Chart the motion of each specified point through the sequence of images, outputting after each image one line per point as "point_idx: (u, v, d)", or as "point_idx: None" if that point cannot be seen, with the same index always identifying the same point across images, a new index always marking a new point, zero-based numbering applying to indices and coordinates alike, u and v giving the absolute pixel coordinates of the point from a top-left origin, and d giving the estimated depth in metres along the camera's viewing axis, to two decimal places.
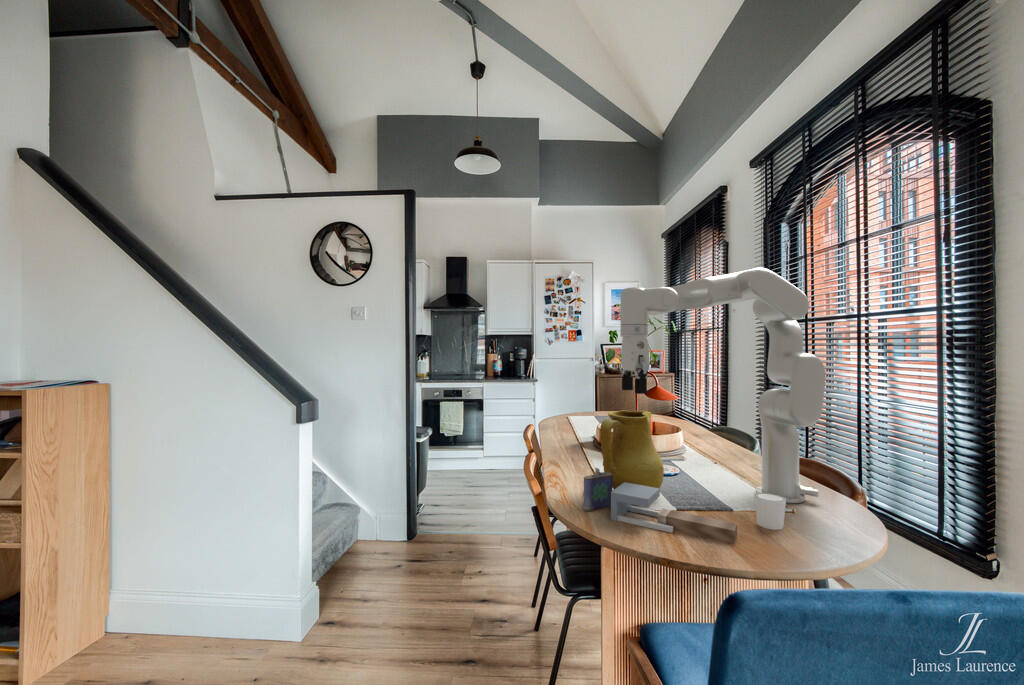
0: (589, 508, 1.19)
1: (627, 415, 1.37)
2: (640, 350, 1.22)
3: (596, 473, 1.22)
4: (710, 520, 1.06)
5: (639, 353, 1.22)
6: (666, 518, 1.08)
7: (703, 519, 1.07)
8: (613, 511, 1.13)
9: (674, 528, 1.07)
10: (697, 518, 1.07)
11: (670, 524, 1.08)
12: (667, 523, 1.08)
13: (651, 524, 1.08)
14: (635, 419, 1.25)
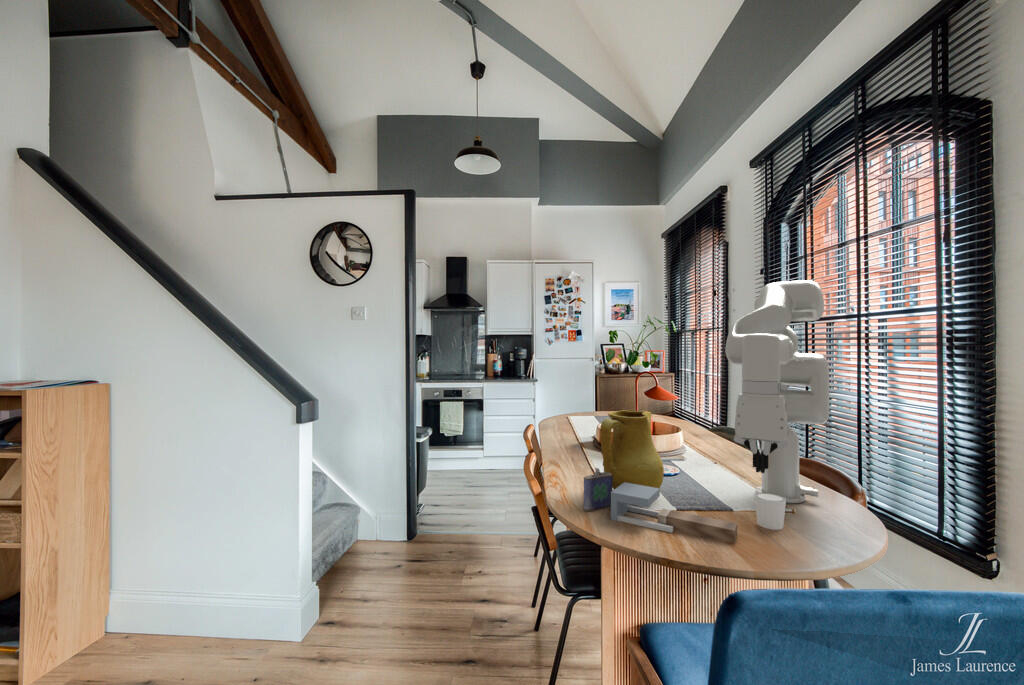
0: (589, 508, 1.19)
1: (627, 415, 1.37)
2: (786, 414, 0.97)
3: (596, 473, 1.22)
4: (710, 520, 1.06)
5: (786, 418, 0.97)
6: (666, 518, 1.08)
7: (703, 519, 1.07)
8: (613, 511, 1.13)
9: (674, 528, 1.07)
10: (697, 518, 1.07)
11: (670, 524, 1.08)
12: (667, 523, 1.08)
13: (651, 524, 1.08)
14: (635, 419, 1.25)
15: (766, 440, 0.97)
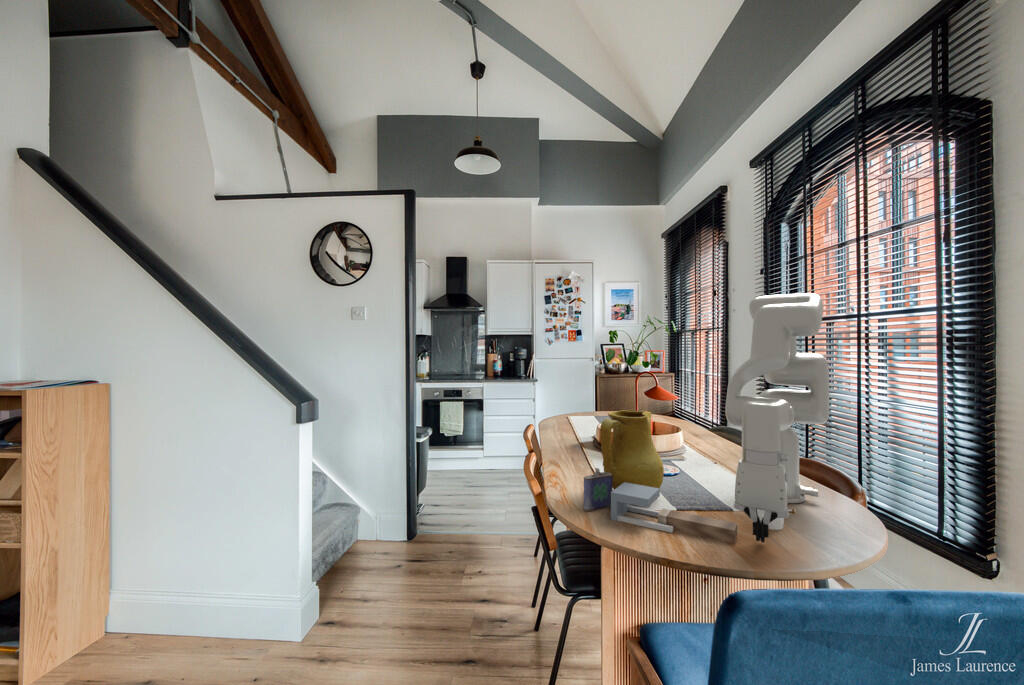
0: (589, 508, 1.19)
1: (627, 415, 1.37)
2: (786, 484, 0.97)
3: (596, 473, 1.22)
4: (710, 520, 1.06)
5: (786, 488, 0.97)
6: (666, 518, 1.08)
7: (703, 519, 1.07)
8: (613, 511, 1.13)
9: (674, 528, 1.07)
10: (697, 518, 1.07)
11: (670, 524, 1.08)
12: (667, 523, 1.08)
13: (651, 524, 1.08)
14: (635, 419, 1.25)
15: (766, 510, 0.97)
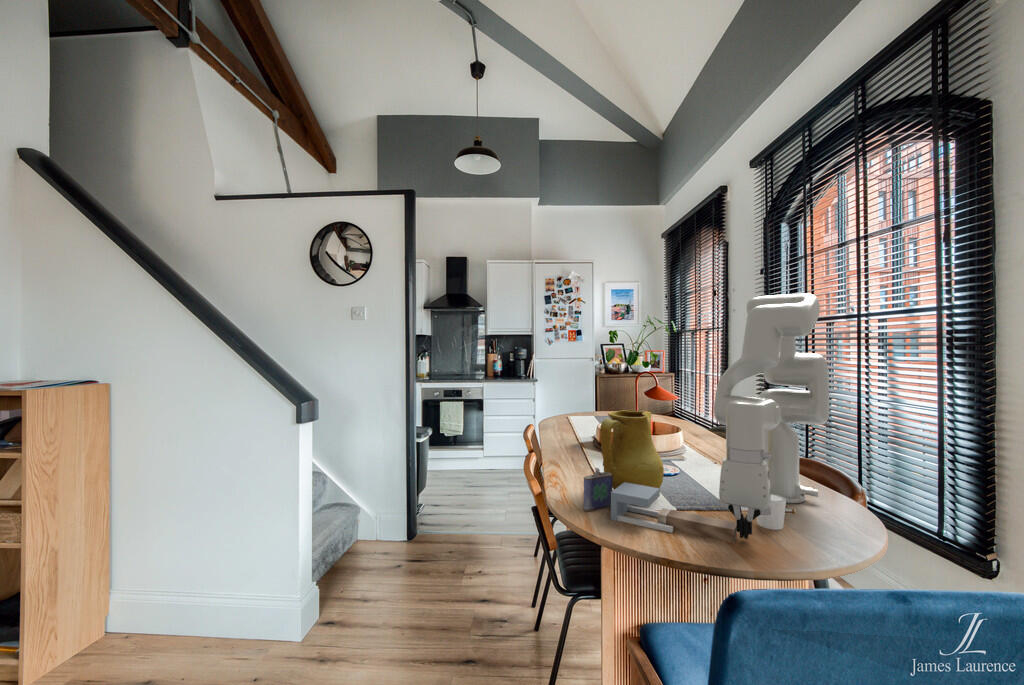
0: (589, 508, 1.19)
1: (627, 415, 1.37)
2: (769, 482, 0.99)
3: (596, 473, 1.22)
4: (710, 519, 1.06)
5: (769, 486, 0.98)
6: (666, 518, 1.08)
7: (703, 518, 1.07)
8: (613, 511, 1.13)
9: (674, 528, 1.07)
10: (697, 518, 1.07)
11: (670, 523, 1.08)
12: (667, 523, 1.08)
13: (651, 524, 1.08)
14: (635, 419, 1.25)
15: (749, 507, 0.99)
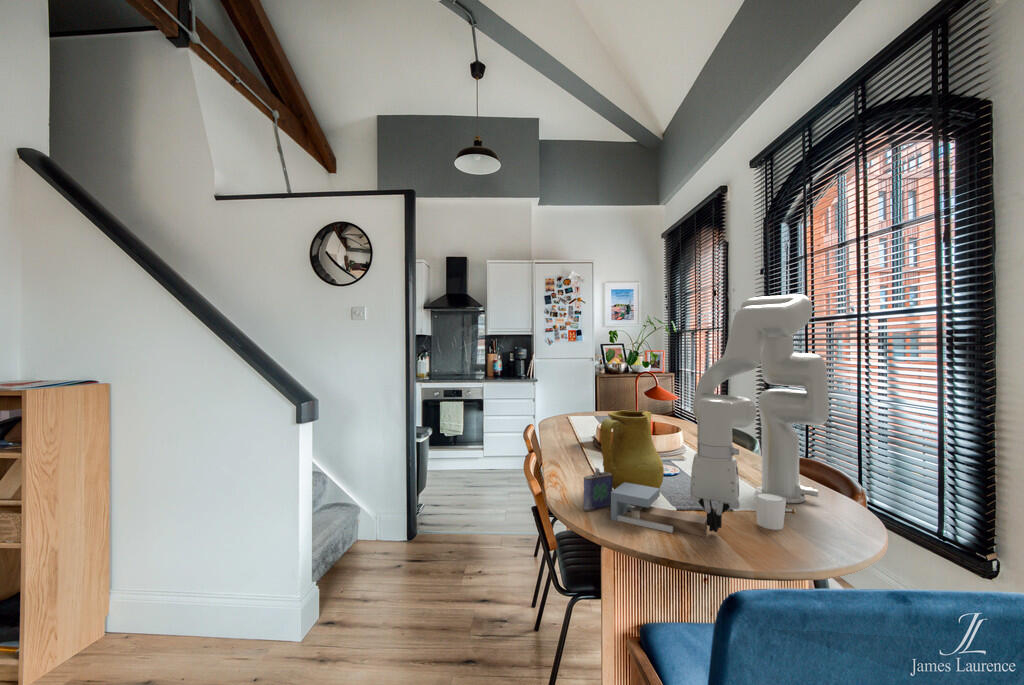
0: (589, 508, 1.19)
1: (627, 415, 1.37)
2: (737, 477, 1.02)
3: (596, 473, 1.22)
4: (682, 514, 1.09)
5: (737, 481, 1.02)
6: (640, 513, 1.11)
7: (675, 513, 1.10)
8: (613, 511, 1.13)
9: None
10: (669, 513, 1.10)
11: (643, 519, 1.11)
12: (641, 518, 1.11)
13: (651, 524, 1.08)
14: (635, 419, 1.25)
15: (718, 501, 1.03)
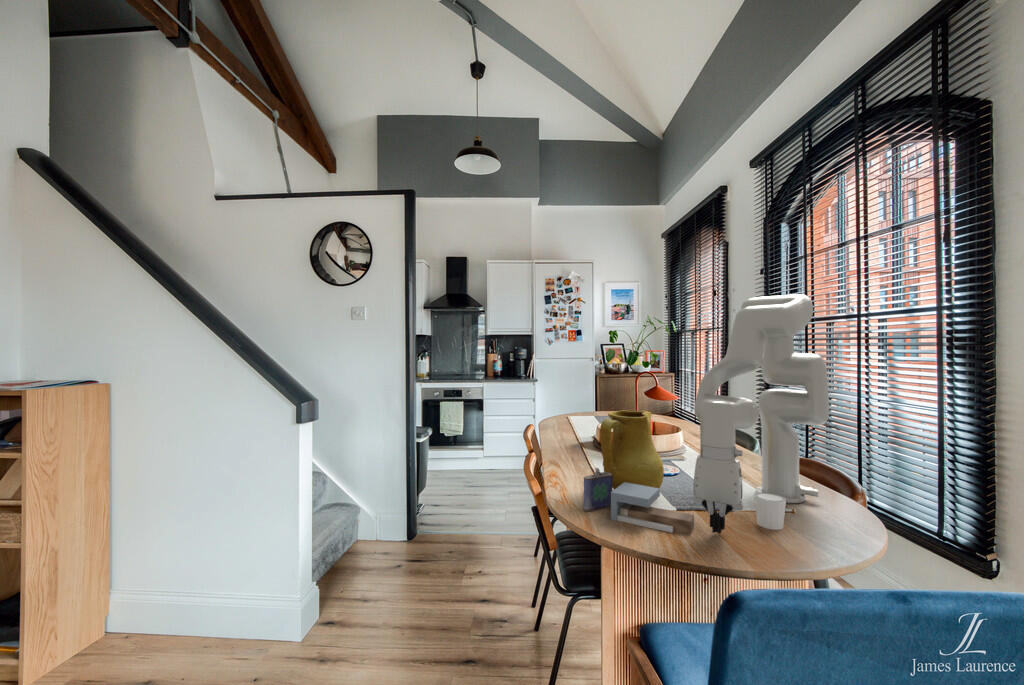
0: (589, 508, 1.19)
1: (627, 415, 1.37)
2: (740, 479, 1.02)
3: (596, 473, 1.22)
4: (669, 512, 1.11)
5: (740, 482, 1.01)
6: (628, 511, 1.13)
7: (662, 511, 1.11)
8: (613, 511, 1.13)
9: None
10: (657, 511, 1.12)
11: None
12: (629, 516, 1.13)
13: (651, 524, 1.08)
14: (635, 419, 1.25)
15: (721, 503, 1.02)
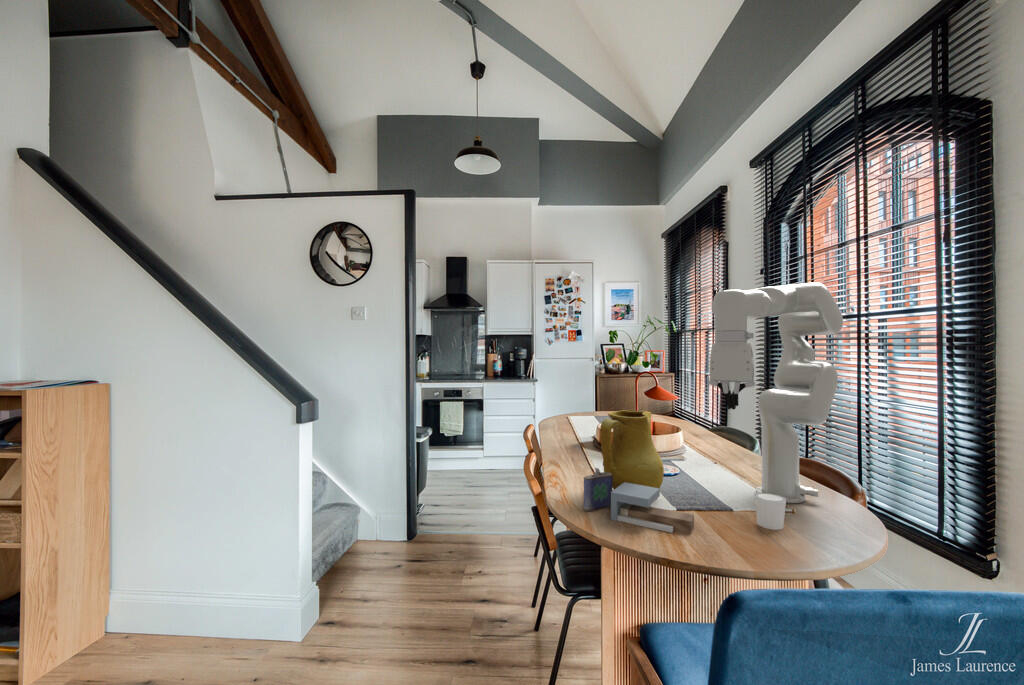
0: (589, 508, 1.19)
1: (627, 415, 1.37)
2: (752, 358, 1.13)
3: (596, 473, 1.22)
4: (669, 512, 1.11)
5: (752, 361, 1.13)
6: (628, 511, 1.13)
7: (662, 511, 1.11)
8: (613, 511, 1.13)
9: None
10: (657, 511, 1.12)
11: None
12: (629, 516, 1.13)
13: (651, 524, 1.08)
14: (635, 419, 1.25)
15: (735, 381, 1.14)
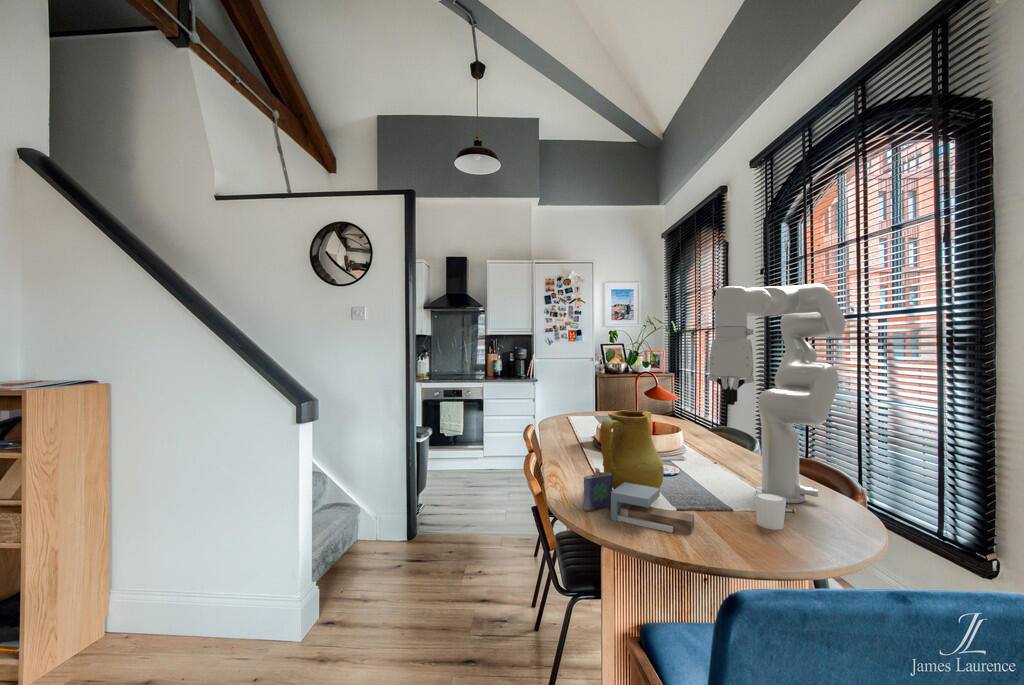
0: (589, 508, 1.19)
1: (627, 415, 1.37)
2: (752, 354, 1.14)
3: (596, 473, 1.22)
4: (669, 512, 1.11)
5: (752, 357, 1.14)
6: (628, 511, 1.13)
7: (662, 511, 1.11)
8: (613, 511, 1.13)
9: None
10: (657, 511, 1.12)
11: None
12: (629, 516, 1.13)
13: (651, 524, 1.08)
14: (635, 419, 1.25)
15: (735, 377, 1.15)
